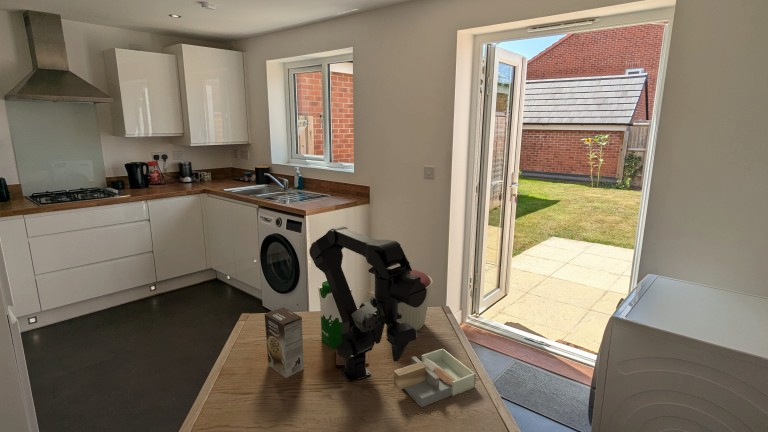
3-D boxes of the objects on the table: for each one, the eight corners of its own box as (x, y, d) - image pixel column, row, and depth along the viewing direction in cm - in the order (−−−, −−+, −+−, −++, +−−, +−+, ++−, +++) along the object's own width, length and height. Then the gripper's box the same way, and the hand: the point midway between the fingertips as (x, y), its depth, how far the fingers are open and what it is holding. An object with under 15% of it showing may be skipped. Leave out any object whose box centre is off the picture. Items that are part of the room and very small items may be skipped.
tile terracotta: (434, 373, 109) (437, 368, 109) (445, 378, 111) (447, 373, 111) (444, 382, 105) (448, 377, 105) (455, 387, 107) (458, 382, 107)
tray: (421, 367, 116) (421, 355, 115) (442, 360, 120) (442, 348, 119) (452, 396, 104) (453, 382, 104) (474, 387, 108) (475, 373, 107)
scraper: (385, 375, 109) (385, 362, 108) (414, 365, 113) (415, 352, 112) (408, 400, 99) (408, 385, 98) (439, 388, 104) (439, 374, 103)
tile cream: (422, 362, 113) (425, 357, 114) (433, 367, 116) (435, 363, 116) (432, 371, 110) (435, 366, 110) (442, 376, 112) (445, 371, 112)
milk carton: (317, 339, 131) (315, 280, 127) (342, 331, 136) (341, 274, 132) (330, 351, 124) (328, 290, 120) (356, 342, 129) (355, 283, 125)
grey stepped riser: (394, 378, 112) (394, 370, 111) (421, 369, 116) (422, 361, 115) (421, 407, 101) (421, 398, 100) (450, 395, 105) (451, 386, 104)
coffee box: (267, 365, 117) (263, 313, 114) (286, 356, 122) (283, 305, 118) (285, 379, 111) (282, 324, 108) (305, 368, 116) (302, 316, 112)
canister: (438, 336, 133) (441, 274, 128) (384, 342, 130) (384, 279, 125) (422, 311, 150) (423, 256, 146) (373, 315, 147) (373, 259, 142)
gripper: (340, 286, 103) (341, 342, 107) (375, 317, 87) (375, 382, 91) (379, 278, 108) (379, 332, 112) (419, 305, 92) (417, 367, 96)
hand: (386, 351), depth 103 cm, fingers open, 9 cm apart
